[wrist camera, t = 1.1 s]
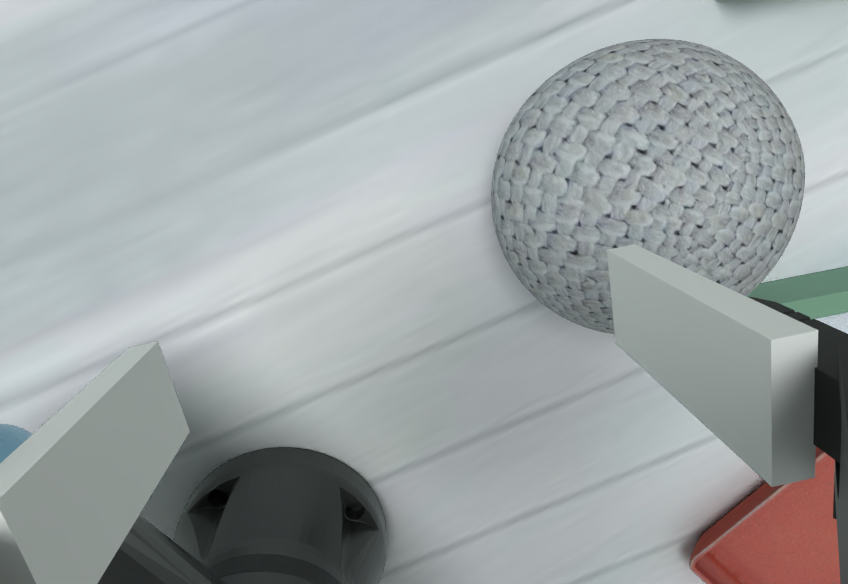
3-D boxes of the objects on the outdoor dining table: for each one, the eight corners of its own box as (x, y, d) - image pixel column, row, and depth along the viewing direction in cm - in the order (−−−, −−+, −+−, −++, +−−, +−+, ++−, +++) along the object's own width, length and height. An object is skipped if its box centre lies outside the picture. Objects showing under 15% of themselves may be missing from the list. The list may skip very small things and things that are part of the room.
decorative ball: (538, 13, 34) (657, -70, 20) (736, 123, 37) (967, 121, 22) (432, 237, 37) (467, 307, 23) (622, 322, 40) (758, 431, 26)
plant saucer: (786, 646, 51) (814, 680, 48) (665, 538, 46) (687, 568, 43) (953, 516, 48) (993, 544, 45) (842, 388, 44) (878, 408, 41)
